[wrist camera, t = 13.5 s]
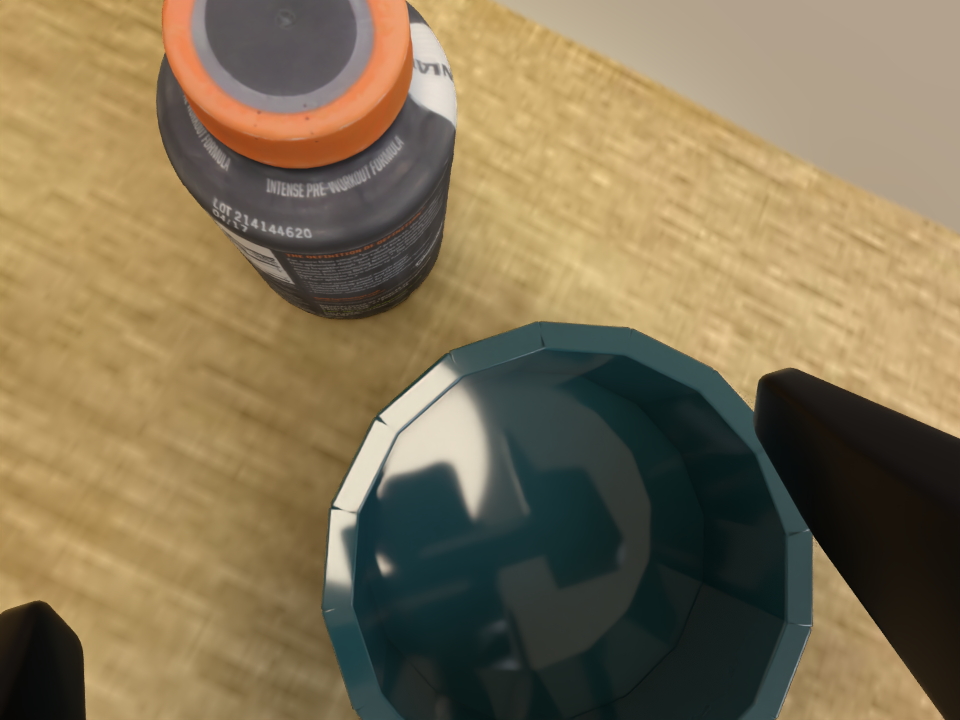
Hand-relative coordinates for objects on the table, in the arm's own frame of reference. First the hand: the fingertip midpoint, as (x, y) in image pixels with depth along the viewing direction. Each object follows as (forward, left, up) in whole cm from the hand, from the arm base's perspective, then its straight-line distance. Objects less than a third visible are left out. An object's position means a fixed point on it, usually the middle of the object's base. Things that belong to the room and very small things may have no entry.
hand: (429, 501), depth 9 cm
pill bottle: (+7, -3, -14) cm, 16 cm away
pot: (-4, -1, -13) cm, 14 cm away
